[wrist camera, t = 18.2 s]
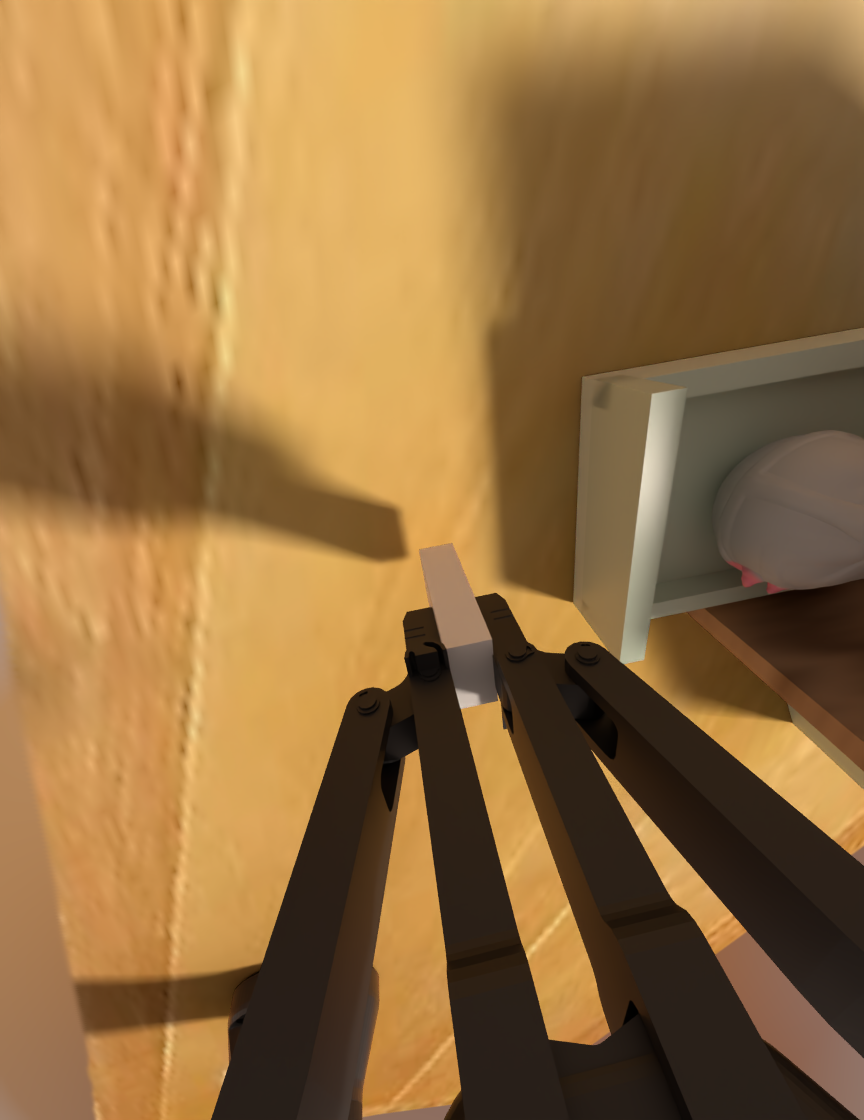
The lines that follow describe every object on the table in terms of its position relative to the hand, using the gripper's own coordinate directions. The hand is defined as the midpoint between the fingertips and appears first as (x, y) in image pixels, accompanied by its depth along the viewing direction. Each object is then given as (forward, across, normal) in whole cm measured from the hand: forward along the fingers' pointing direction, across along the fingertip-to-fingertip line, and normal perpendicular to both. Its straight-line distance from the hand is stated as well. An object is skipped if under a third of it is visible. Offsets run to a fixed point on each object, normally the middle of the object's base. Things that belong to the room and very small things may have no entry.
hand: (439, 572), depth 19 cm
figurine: (+1, +15, 0) cm, 15 cm away
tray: (+2, +15, +1) cm, 15 cm away
